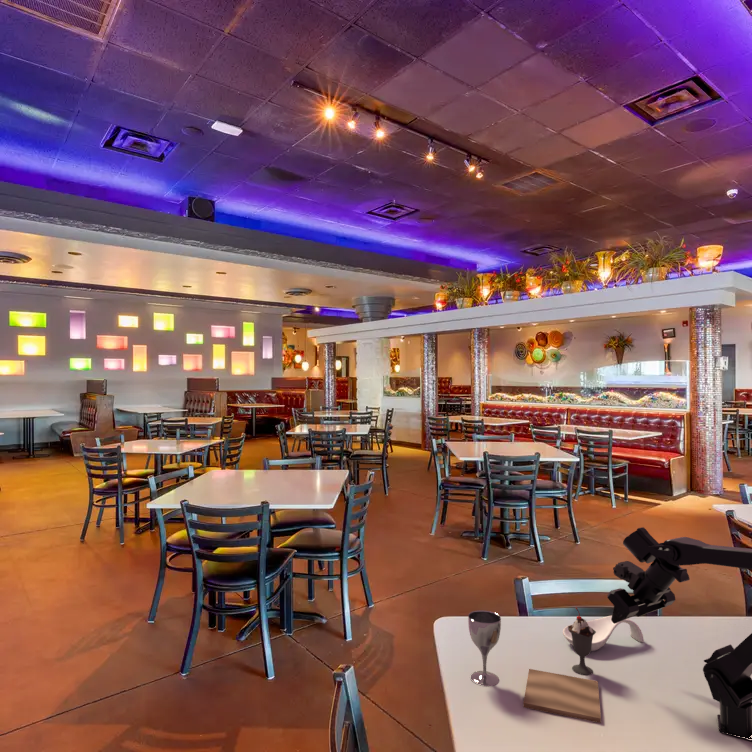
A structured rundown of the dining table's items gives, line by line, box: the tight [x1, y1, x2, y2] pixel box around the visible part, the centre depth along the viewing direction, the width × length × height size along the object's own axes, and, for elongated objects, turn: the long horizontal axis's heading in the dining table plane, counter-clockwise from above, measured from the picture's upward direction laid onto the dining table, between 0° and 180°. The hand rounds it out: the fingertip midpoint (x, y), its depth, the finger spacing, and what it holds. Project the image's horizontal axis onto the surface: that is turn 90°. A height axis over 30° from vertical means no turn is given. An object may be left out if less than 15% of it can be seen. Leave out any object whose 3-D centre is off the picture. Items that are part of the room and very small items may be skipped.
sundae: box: [567, 607, 596, 676], centre depth 134 cm, size 7×7×15 cm
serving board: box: [522, 668, 602, 724], centre depth 122 cm, size 16×16×1 cm
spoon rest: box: [562, 614, 645, 652], centre depth 149 cm, size 24×12×7 cm, turn 105°
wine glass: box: [467, 609, 502, 687], centre depth 130 cm, size 8×8×15 cm
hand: (625, 618), depth 133 cm, fingers open, 9 cm apart
